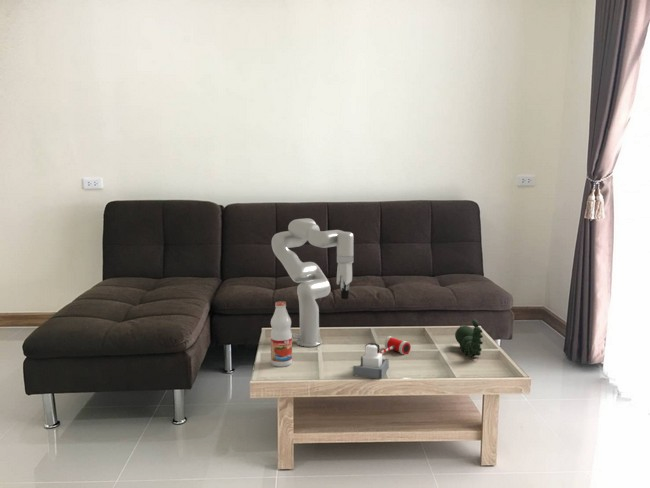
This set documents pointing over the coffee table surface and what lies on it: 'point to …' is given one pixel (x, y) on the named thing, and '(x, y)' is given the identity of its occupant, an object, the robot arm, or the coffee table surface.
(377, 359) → the medicine bottle
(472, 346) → the toy figurine
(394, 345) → the toy hammer
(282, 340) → the fruit juice
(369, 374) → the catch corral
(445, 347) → the coffee table surface
